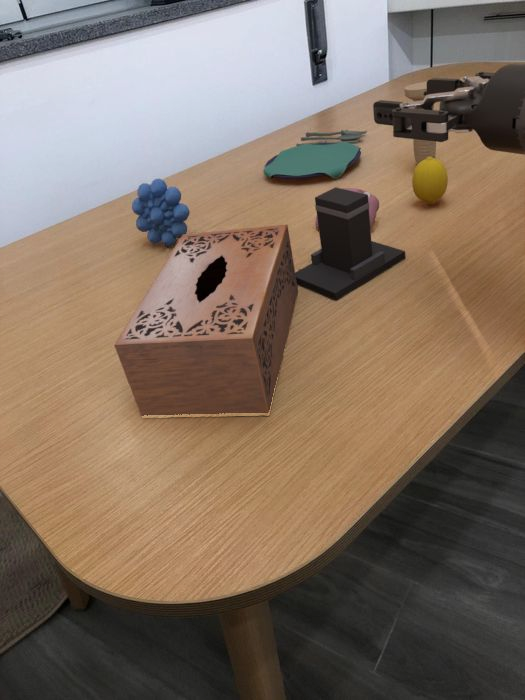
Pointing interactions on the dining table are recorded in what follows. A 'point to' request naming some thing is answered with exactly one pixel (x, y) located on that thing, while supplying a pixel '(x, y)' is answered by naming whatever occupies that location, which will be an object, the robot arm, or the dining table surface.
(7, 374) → the dining table surface
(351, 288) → the base pad
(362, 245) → the upright box
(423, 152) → the handle
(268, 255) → the tissue box cover
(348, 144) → the cutlery set
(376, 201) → the video game controller
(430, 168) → the lemon
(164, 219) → the grapes
